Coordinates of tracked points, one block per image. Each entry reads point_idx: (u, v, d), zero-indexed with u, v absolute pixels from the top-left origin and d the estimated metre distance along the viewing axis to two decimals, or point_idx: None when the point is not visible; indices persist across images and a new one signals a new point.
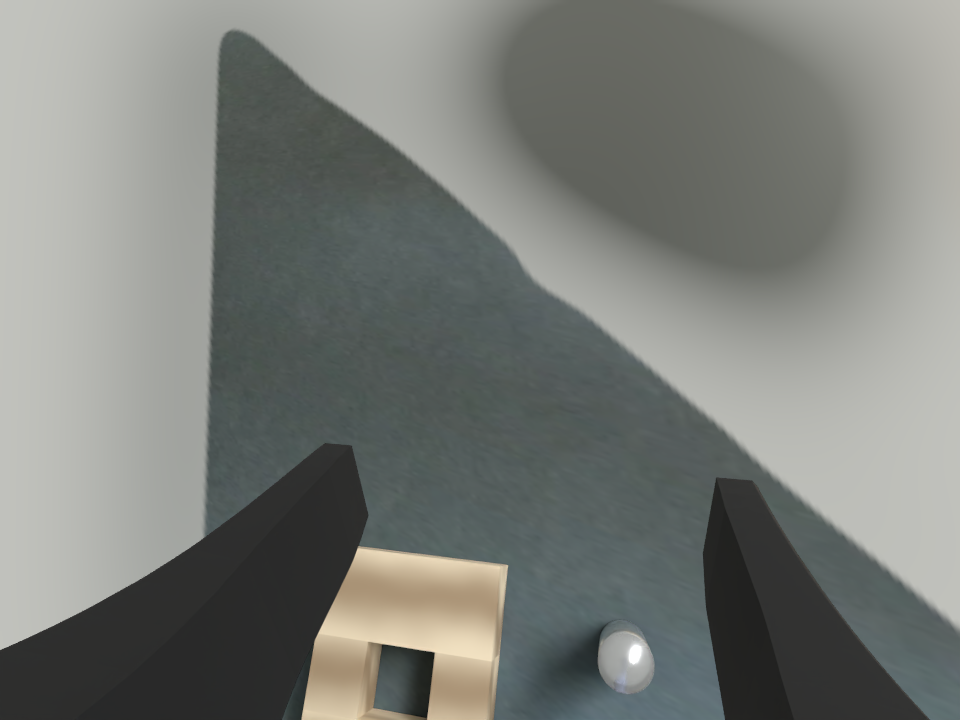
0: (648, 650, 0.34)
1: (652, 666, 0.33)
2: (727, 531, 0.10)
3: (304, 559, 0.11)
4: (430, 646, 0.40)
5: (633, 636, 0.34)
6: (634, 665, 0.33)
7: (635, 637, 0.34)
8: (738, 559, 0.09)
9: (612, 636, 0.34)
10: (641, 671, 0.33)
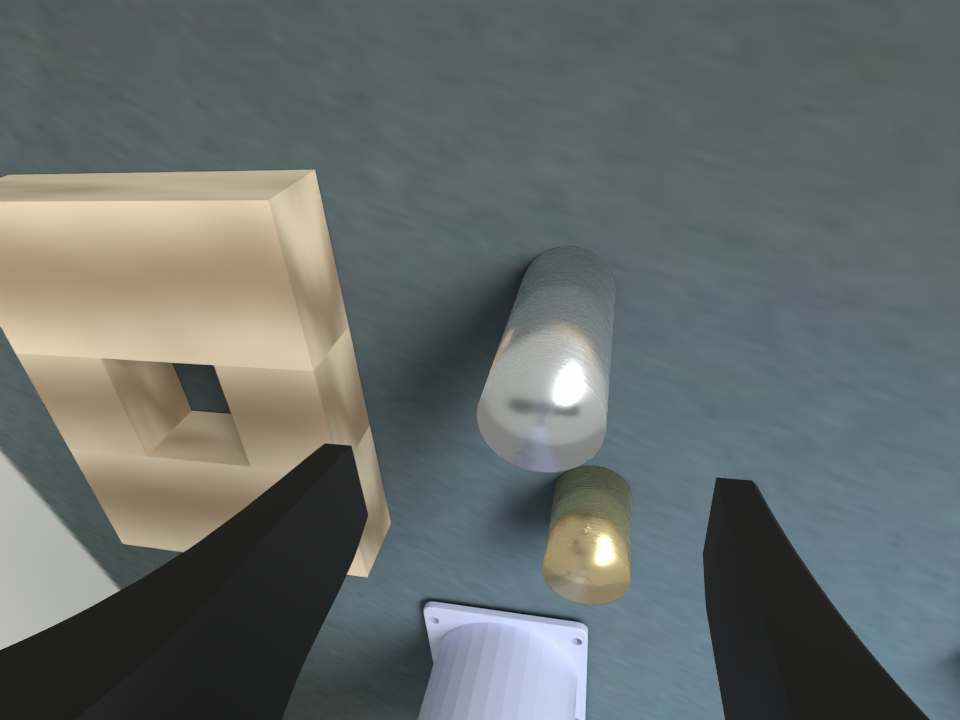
0: (591, 399, 0.14)
1: (601, 426, 0.14)
2: (727, 531, 0.10)
3: (304, 559, 0.11)
4: (201, 357, 0.21)
5: (554, 373, 0.13)
6: (560, 426, 0.14)
7: (559, 375, 0.13)
8: (738, 559, 0.09)
9: (504, 375, 0.14)
10: (575, 437, 0.14)
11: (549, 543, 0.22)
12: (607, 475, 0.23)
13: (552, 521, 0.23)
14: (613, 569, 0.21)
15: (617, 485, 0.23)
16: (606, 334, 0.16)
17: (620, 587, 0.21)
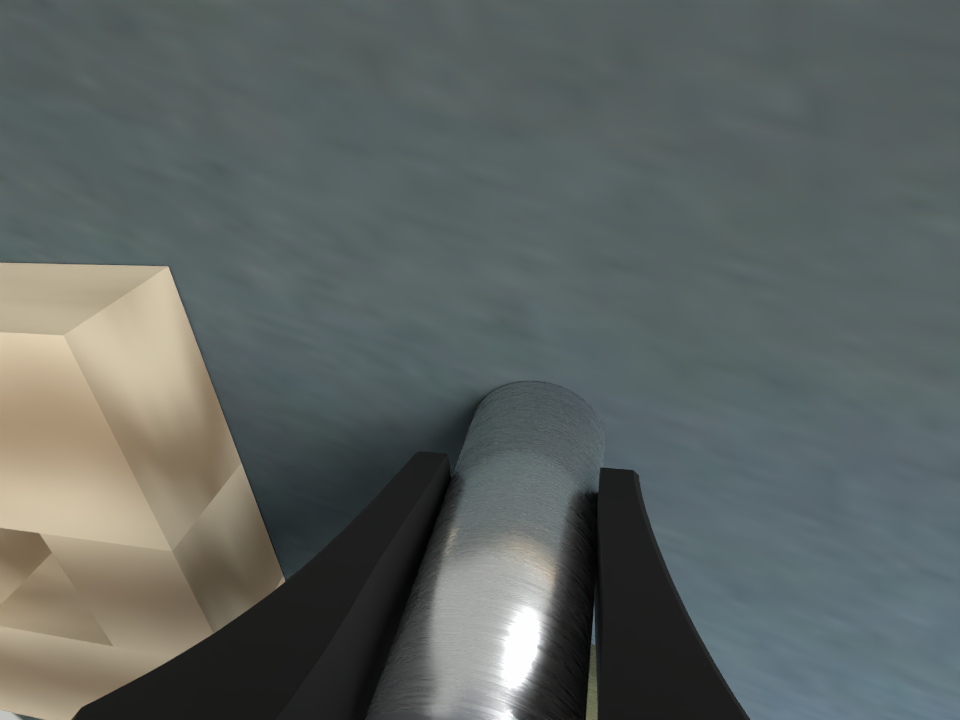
0: None
1: None
2: (598, 518, 0.10)
3: (411, 574, 0.11)
4: (21, 523, 0.15)
5: (484, 719, 0.07)
6: None
7: None
8: (600, 543, 0.10)
9: (398, 707, 0.08)
10: None
11: None
12: None
13: None
14: None
15: None
16: (587, 563, 0.10)
17: None
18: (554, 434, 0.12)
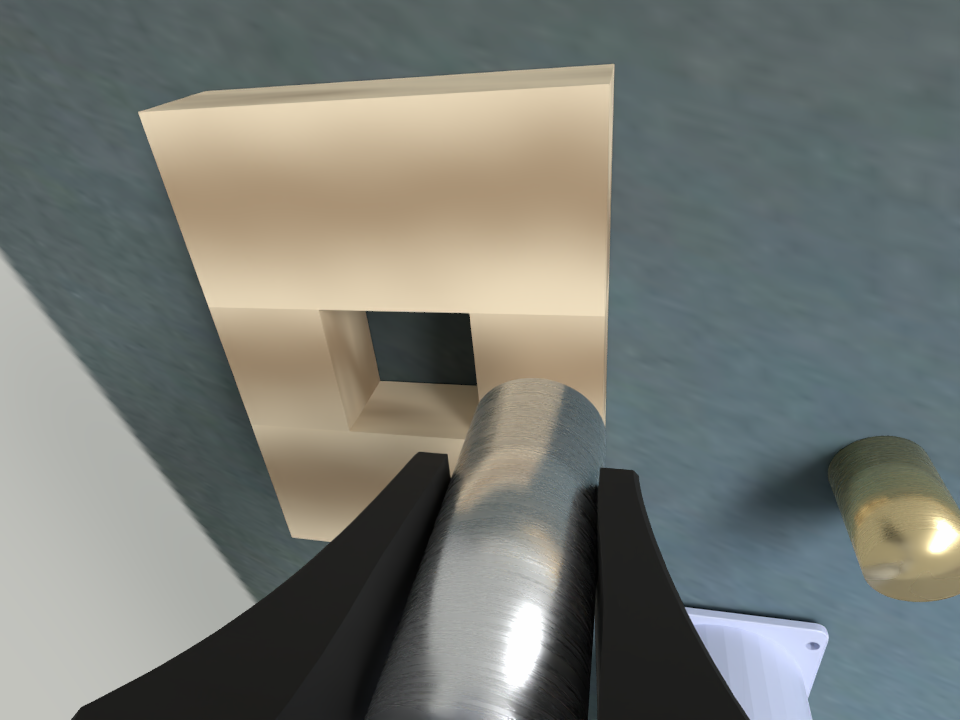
0: None
1: None
2: (598, 517, 0.10)
3: (411, 574, 0.11)
4: (456, 303, 0.17)
5: (488, 716, 0.07)
6: None
7: None
8: (600, 543, 0.10)
9: (400, 703, 0.08)
10: None
11: (869, 528, 0.18)
12: (911, 446, 0.20)
13: (858, 502, 0.19)
14: None
15: (926, 458, 0.19)
16: (589, 560, 0.10)
17: None
18: (556, 431, 0.12)
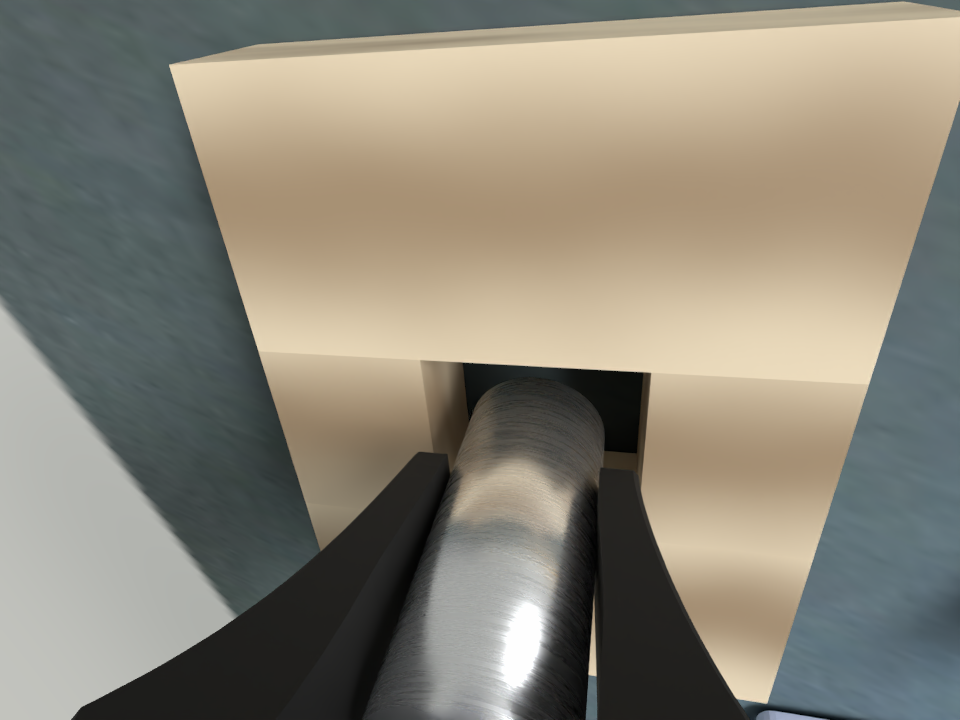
0: None
1: None
2: (598, 518, 0.10)
3: (411, 574, 0.11)
4: (633, 358, 0.12)
5: (485, 715, 0.07)
6: None
7: None
8: (600, 543, 0.10)
9: (398, 702, 0.08)
10: None
11: None
12: None
13: None
14: None
15: None
16: (587, 559, 0.10)
17: None
18: (555, 430, 0.12)
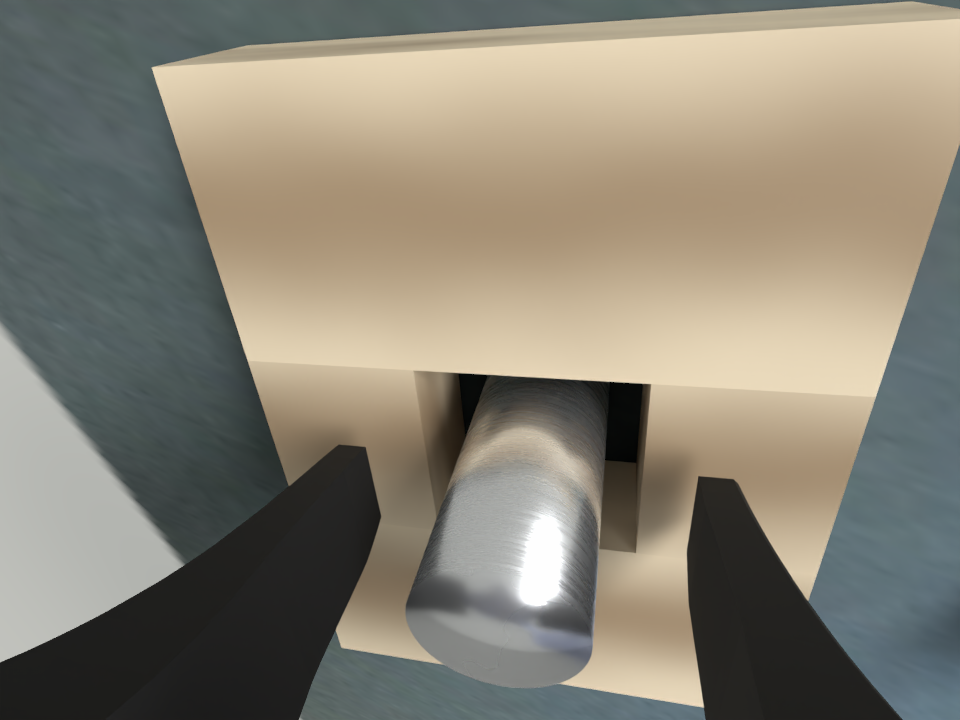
0: (571, 612, 0.09)
1: (586, 644, 0.09)
2: (707, 529, 0.10)
3: (319, 561, 0.11)
4: (632, 369, 0.11)
5: (516, 575, 0.09)
6: (525, 638, 0.10)
7: (523, 580, 0.09)
8: (717, 557, 0.09)
9: (443, 570, 0.09)
10: (547, 651, 0.10)
11: None
12: None
13: None
14: None
15: None
16: (596, 475, 0.12)
17: None
18: None
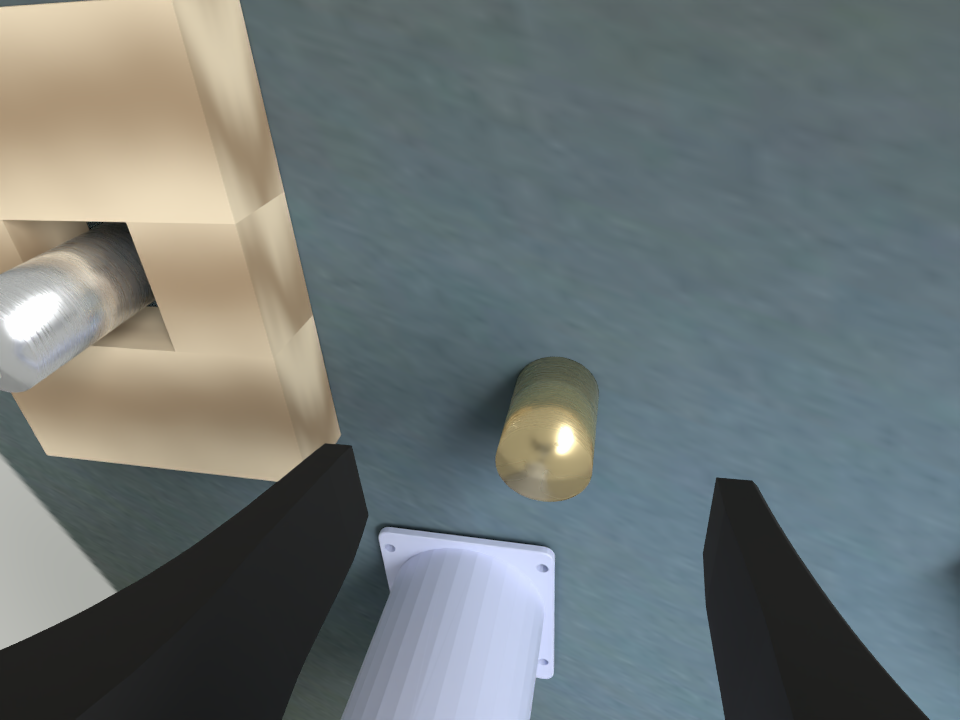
0: (7, 325, 0.16)
1: (28, 350, 0.17)
2: (727, 531, 0.10)
3: (304, 559, 0.11)
4: (112, 212, 0.18)
5: None
6: (1, 350, 0.17)
7: None
8: (738, 559, 0.09)
9: None
10: (15, 360, 0.17)
11: (503, 431, 0.19)
12: (571, 365, 0.21)
13: (509, 412, 0.20)
14: (573, 456, 0.19)
15: (581, 375, 0.21)
16: (101, 280, 0.19)
17: (581, 478, 0.19)
18: (122, 229, 0.21)
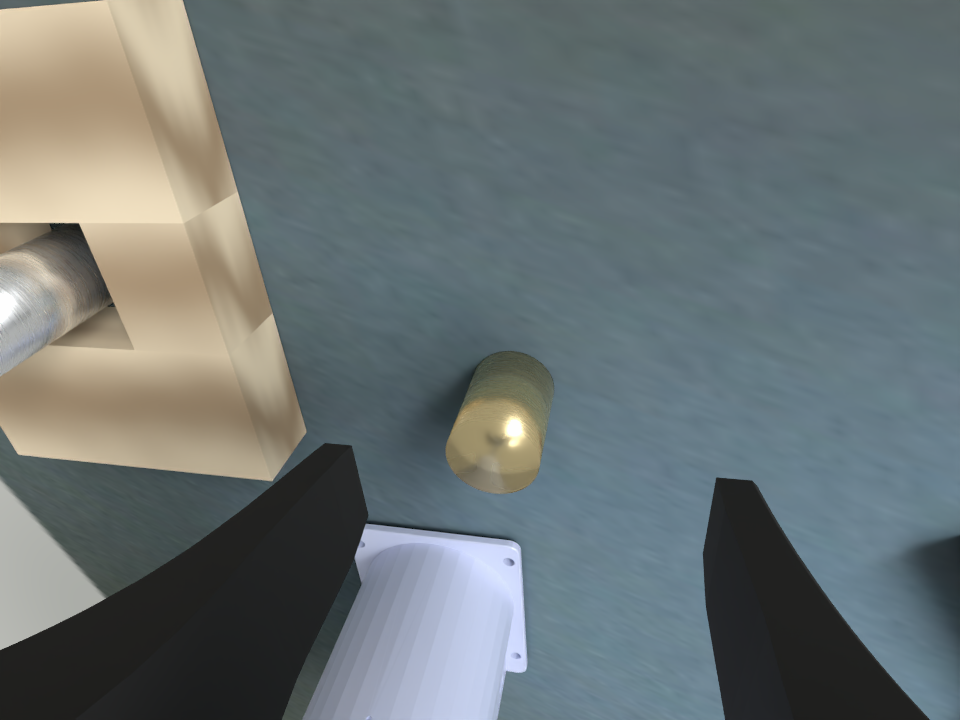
0: None
1: None
2: (727, 531, 0.10)
3: (304, 559, 0.11)
4: (65, 213, 0.19)
5: None
6: None
7: None
8: (738, 559, 0.09)
9: None
10: None
11: (454, 425, 0.20)
12: (524, 359, 0.21)
13: (461, 406, 0.21)
14: (520, 447, 0.19)
15: (534, 369, 0.21)
16: (56, 281, 0.19)
17: (529, 470, 0.19)
18: (80, 231, 0.21)
